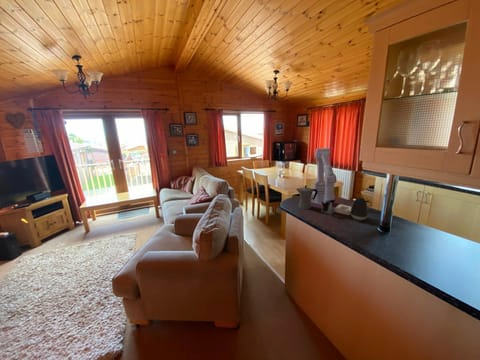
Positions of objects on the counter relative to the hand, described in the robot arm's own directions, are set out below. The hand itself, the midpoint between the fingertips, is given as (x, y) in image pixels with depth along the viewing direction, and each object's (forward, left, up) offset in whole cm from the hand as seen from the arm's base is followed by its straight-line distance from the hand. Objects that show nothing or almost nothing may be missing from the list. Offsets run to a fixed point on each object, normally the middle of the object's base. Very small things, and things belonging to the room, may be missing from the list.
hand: (328, 209), depth 145 cm
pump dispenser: (+19, +4, -3) cm, 20 cm away
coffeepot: (-16, -2, -3) cm, 16 cm away
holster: (0, 0, -2) cm, 2 cm away
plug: (0, 0, -2) cm, 2 cm away
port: (+8, +9, -2) cm, 12 cm away
